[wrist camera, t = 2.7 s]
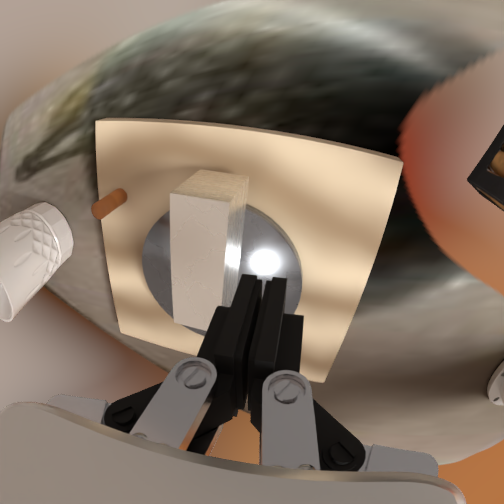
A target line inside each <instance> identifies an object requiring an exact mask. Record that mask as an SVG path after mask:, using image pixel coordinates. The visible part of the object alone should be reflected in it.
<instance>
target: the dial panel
mask: <svg viewBox="0 0 504 504" xmlns="http://www.w3.org/2000/svg"><path fill="white" fill-rule="evenodd" d="M95 123H96V161H97V178H98V192H99V201H97V202H96V203H94V204H93V205H92V208H91V211H92V214H93V215H94V217H95V218H97V219H101V222H102V230H103V238H104V246H105V253H106V259H107V266H108V272H109V277H110V283H111V288H112V294H113V299H114V304H115V309H116V313H117V318H118V323H119V327H120V331H121V333H123V334H126V335H129V336H132V337H135V338H138V339H141V340H144V341H148V342H151V343H154V344H157V345H160V346H164V347H167V348H170V349H174V350H177V351H181V352H184V353H188V354H191V355H195V356H197V354H198V352H199V349H200V347H201V344H202V342H203V339H204V337H205V336H202V335H200V334H197V333H195V332H193V331H191V330H189V329H187V328H186V327H184V326H182V325H181V324H178V323H174V319H173V318H172V317H171V316H170V315H168V314H167V313H166V312H165V311H164V310H163V308H162V307H161V306H160V305H159V304H158V302H157V301H156V300H155V298H154V297H153V295H152V293H151V291H150V290H149V287H148V285H147V283H146V280H145V276H144V273H143V267H142V251H143V246H144V242H145V239H146V237H147V235H148V233H149V231H150V229H151V228H152V227H153V225H154V224H155V223H156V222H157V221H158V220H159V219H160V218H161V217H162V216H163V215H164V214H165V213H166V212H167V211H169V210H170V193H171V192H172V191H173V190H174V189H176V188H177V187H178V186H179V185H181V184H182V183H183V182H185V181H186V180H187V179H189V178H190V177H191V176H192V175H194V174H195V173H196V172H198V171H199V170H200V169H203V170H210V171H217V172H224V173H230V174H237V175H243V176H249V183H248V192H247V201H246V204H248V205H251V206H253V207H254V208H256V209H258V210H260V211H262V212H263V213H265V214H266V215H268V216H269V217H271V218H272V219H273V220H274V221H275V222H276V223H277V224H278V225H280V227H281V228H282V229H283V230H284V231H285V232H286V233H287V235H288V236H289V238H290V239H291V241H292V242H293V244H294V246H295V248H296V250H297V252H298V255H299V258H300V261H301V265H302V272H303V283H302V292H301V297H300V301H299V304H298V307H297V309H296V311H295V313H294V314H296V315H304V324H303V338H302V350H301V362H300V374H302V375H303V376H305V377H306V378H307V380H309V381H315V382H321V383H324V381H325V379H326V377H327V375H328V373H329V371H330V369H331V366H332V364H333V362H334V360H335V358H336V355H337V353H338V351H339V349H340V346H341V344H342V342H343V340H344V337H345V335H346V333H347V330H348V328H349V325H350V323H351V321H352V318H353V316H354V313H355V311H356V308H357V306H358V303H359V301H360V298H361V295H362V293H363V290H364V287H365V285H366V282H367V279H368V277H369V274H370V271H371V268H372V265H373V263H374V260H375V257H376V254H377V251H378V248H379V245H380V242H381V239H382V236H383V233H384V230H385V226H386V223H387V220H388V217H389V213H390V210H391V207H392V203H393V200H394V196H395V193H396V189H397V185H398V182H399V178H400V174H401V170H402V166H403V161H401V160H400V159H399V158H398V157H396V156H392V155H388V154H384V153H380V152H377V151H373V150H369V149H364V148H360V147H356V146H352V145H347V144H343V143H338V142H334V141H329V140H324V139H319V138H314V137H308V136H303V135H297V134H292V133H286V132H280V131H273V130H266V129H260V128H252V127H245V126H237V125H228V124H219V123H209V122H197V121H184V120H169V119H147V118H105V119H101V120H97V121H95Z"/></svg>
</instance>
